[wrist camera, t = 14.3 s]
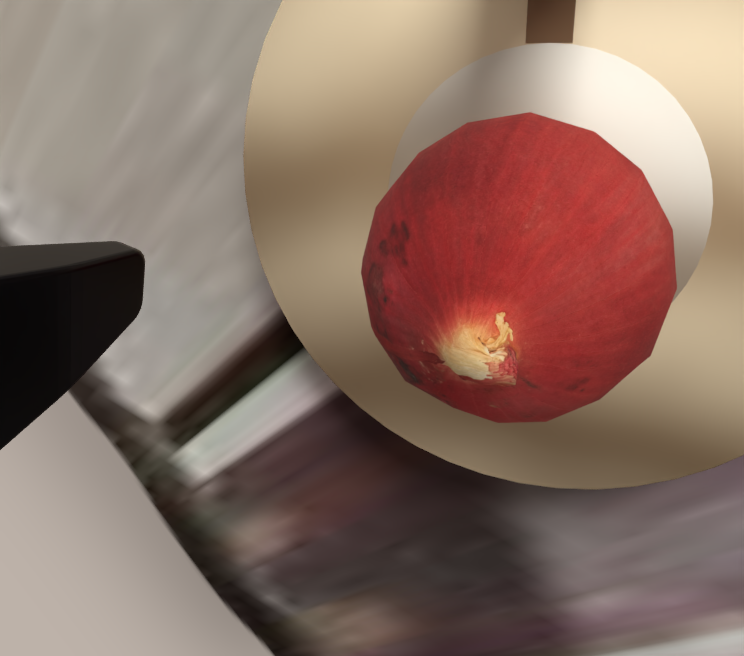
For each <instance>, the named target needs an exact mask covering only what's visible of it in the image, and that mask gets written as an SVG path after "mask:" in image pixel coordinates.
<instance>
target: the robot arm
mask: <svg viewBox="0 0 744 656" xmlns="http://www.w3.org/2000/svg"><path fill="white" fill-rule="evenodd" d="M144 272H145V259H144V255H143V254H142V252H141V251H139V250H138V249H135V248H133V247H130V246H128V245H126V244H123V243H121V242H117V241H107V242H86V243H65V244H44V245H23V246H2V247H0V450H1V449H2V448H3V447H4V446H5V445H7V444H8V443H9V442H10V441H11V440H12V439H13V438H15V437H16V436H17V435H18V434H19V433H20V432H21V431H23V429H25V428H26V427H27V426H28V425H29V424H30V423H32V422H33V421H34V420H35V419H36V418H37V417H39V416H40V415H41V414H42V413H43V412H44V411H45V410H47V409H48V408H49V407H50V406H51V405H52V404H53V403H55V402H56V401H57V400H58V399H59V398H60V397H61V396H62V395H63V394H65V393H66V392H67V391H68V390H69V389H70V388H71V387H72V386H73V385H74V384H75V383H76V382H77V381H78V380H79V379H80V378H81V377H82V376H83V375H84V374H85V373H86V371H87V370H88V369H89V368H90V367H91V366H92V365H93V364H94V363H95V362H96V361H97V360H98V358H99V357H100V356H101V355H102V354H103V353H104V352H105V351H106V350H107V349H108V348H109V347H110V345H111V344H112V343H113V342H114V341H115V340H116V339H117V338H118V337H119V336H120V335H121V333H122V332H123V331H124V330H125V329H126V328H127V327H128V326H129V325H130V324H131V323H132V322H133V320H134V319H135V318H136V317H137V315H138V313H139V311H140V309H141V306H142V301H143V287H144Z"/></svg>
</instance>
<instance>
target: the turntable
mask: <svg viewBox="0 0 744 656" xmlns="http://www.w3.org/2000/svg"><path fill="white" fill-rule="evenodd" d="M528 112H531V113H535V114H538V115H541V116H545V117H548V118H551V119H555V120H558V121H561V122H565V123H568V124H571V125H575V126H578V127H581V128H585V129H588V130H591V131H594V132H596V133H597V134H598V135H600V136H601V137H602V138H603V139H604V140H606V141H607V142H608V143H609V144H611V145H612V146H613V147H614V148H615V149H617V150H618V151H619V152H620V153H622V154H623V155H624V156H625V157H627V158H628V159H629V160H630V161H631V162H633V163H634V164H635V165H636V166H638V167H639V168H640V169H641V170H642V171H643V173H644V175H645V177H646V179H647V181H648V183H649V184H650V186H651V188H652V190H653V192H654V194H655V196H656V198H657V200H658V201H659V203H660V205H661V207H662V209H663V211H664V213H665V215H666V217H667V218H668V220H669V223H670V225H671V227H672V229H673V239H674V253H675V267H676V281H677V290H676V292H675V295H674V297H673V300H672V303H671V305H670V308H669V310H668V313H667V315H666V318H665V321H664V323H663V326H662V328H661V331H660V333H659V336H658V338H657V341H656V344H655V346H654V349H653V351H652V354H651V356H650V357H649V358H647V359H646V360H645V361H644V362H642V363H641V364H640V365H639V366H638V367H636V368H635V369H634V370H633V371H632V372H631V373H630V374H629V375H627V376H626V377H625V378H624V379H623V380H622V381H621V382H619V383H618V384H617V385H616V386H615V387H614V388H613V389H611V390H610V391H609V392H608V393H607V394H606V395H605V396H603V397H602V398H601V399H600V400H598V401H595V402H593V403H591V404H588V405H586V406H583V407H581V408H578V409H576V410H574V411H571V412H569V413H566V414H564V415H561V416H559V417H557V418H554V419H552V420H549V421H547V422H519V423H496V422H493V421H490V420H487V419H484V418H481V417H478V416H476V415H473V414H470V413H467V412H464V411H461V410H458V409H455V408H452V407H451V406H449V405H447V404H445V403H443V402H442V401H440V400H438V399H436V398H435V397H433V396H431V395H429V394H427V393H426V392H424V391H422V390H420V389H418V388H417V387H415V386H413V385H411V384H409V383H408V382H406V381H405V380H404V379H403V377H402V376H401V374H400V373H399V371H398V370H397V368H396V367H395V365H394V364H393V362H392V360H391V359H390V357H389V356H388V354H387V353H386V351H385V350H384V348H383V347H382V345H381V344H380V342H379V341H378V339H377V338H376V336H375V334H374V332H373V330H372V327H371V323H370V318H369V313H368V307H367V302H366V296H365V291H364V286H363V280H362V275H361V268H362V260H363V256H364V252H365V248H366V244H367V240H368V236H369V232H370V228H371V224H372V220H373V216H374V212H375V208H376V206H377V205H378V203H379V202H380V201H381V199H382V198H383V197H384V195H385V194H386V193H387V192H388V190H389V189H390V188H391V187H392V185H393V184H394V183H395V182H396V180H397V179H398V178H399V177H400V175H401V174H402V173H403V172H404V170H405V169H406V168H407V167H408V165H409V164H410V163H411V162H412V161H413V159H414V158H415V157H416V156H417V154H418V153H419V152H421V151H422V150H424V149H426V148H427V147H429V146H430V145H432V144H434V143H435V142H437V141H438V140H440V139H442V138H443V137H445V136H446V135H448V134H450V133H451V132H453V131H454V130H456V129H458V128H459V127H461V126H462V125H464V124H466V123H467V122H474V121H480V120H486V119H492V118H498V117H504V116H510V115H516V114H522V113H528ZM243 157H244V175H245V193H246V200H247V206H248V211H249V217H250V223H251V229H252V233H253V237H254V240H255V244H256V247H257V250H258V254H259V257H260V261H261V264H262V267H263V269H264V272H265V274H266V277H267V279H268V282H269V284H270V286H271V289H272V291H273V294H274V296H275V298H276V300H277V302H278V304H279V306H280V308H281V309H282V311H283V313H284V315H285V317H286V319H287V320H288V322H289V324H290V326H291V328H292V329H293V331H294V332H295V334H296V335H297V337H298V338H299V339H300V341H301V342H302V344H303V345H304V347H305V348H306V350H307V351H308V352H309V354H310V355H311V357H312V358H313V359H314V360H315V362H316V363H317V364H318V365H319V366H320V367H321V368H322V370H323V371H324V372H325V373H326V374H327V375H328V377H329V378H330V379H331V380H332V381H333V382H334V384H336V385H337V386H338V387H339V388H340V389H341V390H342V391H343V392H344V393H345V394H346V395H347V396H348V397H349V398H350V399H351V400H353V401H354V402H355V403H356V404H357V405H358V406H359V407H360V408H361V409H363V410H364V411H365V412H367V413H368V414H369V415H371V416H372V417H373V418H374V419H376V420H377V421H378V422H380V423H381V424H382V425H384V426H385V427H386V428H388V429H389V430H391V431H393V432H394V433H396V434H397V435H399V436H401V437H402V438H404V439H406V440H407V441H409V442H411V443H412V444H414V445H415V446H417V447H419V448H421V449H423V450H425V451H427V452H430V453H432V454H434V455H436V456H438V457H440V458H442V459H444V460H446V461H448V462H451V463H454V464H456V465H459V466H462V467H465V468H468V469H470V470H473V471H476V472H479V473H481V474H485V475H489V476H493V477H497V478H501V479H505V480H509V481H513V482H517V483H523V484H530V485H537V486H544V487H552V488H566V489H608V488H622V487H635V486H641V485H646V484H652V483H657V482H663V481H668V480H674V479H677V478H681V477H684V476H687V475H691V474H694V473H697V472H701V471H704V470H707V469H711V468H714V467H717V466H719V465H721V464H724V463H726V462H728V461H731V460H733V459H735V458H738V457H740V456H742V455H744V0H282V2H281V5H280V7H279V9H278V11H277V13H276V16H275V18H274V20H273V22H272V25H271V27H270V29H269V31H268V33H267V36H266V38H265V41H264V44H263V47H262V51H261V54H260V57H259V60H258V64H257V67H256V70H255V73H254V77H253V81H252V86H251V92H250V98H249V103H248V109H247V114H246V123H245V140H244V156H243Z"/></svg>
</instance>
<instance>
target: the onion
mask: <svg viewBox="0 0 744 656" xmlns="http://www.w3.org/2000/svg"><path fill="white" fill-rule="evenodd" d="M361 275H362V280H363V286H364V291H365V296H366V302H367V307H368V313H369V318H370V323H371V327H372V330H373V332H374V334H375V336H376V338H377V339H378V341H379V342H380V344H381V345H382V347H383V348H384V350H385V351H386V353H387V354H388V356H389V357H390V359H391V360H392V362H393V364H394V365H395V367H396V368H397V370H398V371H399V373H400V374H401V376H402V377H403V379H404V380H405V381H406V382H408V383H409V384H411V385H413V386H415V387H417V388H418V389H420V390H422V391H424V392H426V393H427V394H429V395H431V396H433V397H435V398H436V399H438V400H440V401H442V402H443V403H445V404H447V405H449V406H451V407H452V408H455V409H458V410H461V411H464V412H467V413H470V414H473V415H476V416H478V417H481V418H484V419H487V420H490V421H493V422H496V423H519V422H547V421H549V420H552V419H554V418H557V417H559V416H561V415H564V414H566V413H569V412H571V411H574V410H576V409H578V408H581V407H583V406H586V405H588V404H591V403H593V402H595V401H598V400H600V399H601V398H602V397H603V396H605V395H606V394H607V393H608V392H609V391H610V390H611V389H613V388H614V387H615V386H616V385H617V384H618V383H619V382H621V381H622V380H623V379H624V378H625V377H626V376H627V375H629V374H630V373H631V372H632V371H633V370H634V369H635V368H636V367H638V366H639V365H640V364H641V363H642V362H644V361H645V360H646V359H647V358H649V357H650V356H651V354H652V351H653V349H654V346H655V344H656V341H657V338H658V336H659V333H660V331H661V328H662V326H663V323H664V321H665V318H666V315H667V313H668V310H669V308H670V305H671V303H672V300H673V297H674V295H675V292H676V290H677V281H676V267H675V253H674V239H673V229H672V227H671V225H670V223H669V220H668V218H667V217H666V215H665V213H664V211H663V209H662V207H661V205H660V203H659V201H658V200H657V198H656V196H655V194H654V192H653V190H652V188H651V186H650V184H649V183H648V181H647V179H646V177H645V175H644V173H643V171H642V170H641V169H640V168H639V167H638V166H636V165H635V164H634V163H633V162H631V161H630V160H629V159H628V158H627V157H625V156H624V155H623V154H622V153H620V152H619V151H618V150H617V149H615V148H614V147H613V146H612V145H611V144H609V143H608V142H607V141H606V140H604V139H603V138H602V137H601V136H600V135H598V134H597V133H596V132H594V131H591V130H588V129H585V128H581V127H578V126H575V125H571V124H568V123H565V122H561V121H558V120H555V119H551V118H548V117H545V116H541V115H538V114H535V113H531V112H528V113H522V114H516V115H510V116H504V117H498V118H492V119H486V120H480V121H474V122H467V123H466V124H464V125H462V126H461V127H459V128H458V129H456V130H454V131H453V132H451V133H450V134H448V135H446V136H445V137H443V138H442V139H440V140H438V141H437V142H435V143H434V144H432V145H430V146H429V147H427V148H426V149H424V150H422V151H421V152H419V153H418V154H417V156H416V157H415V158H414V159H413V161H412V162H411V163H410V164H409V165H408V167H407V168H406V169H405V170H404V172H403V173H402V174H401V175H400V177H399V178H398V179H397V180H396V182H395V183H394V184H393V185H392V187H391V188H390V189H389V190H388V192H387V193H386V194H385V195H384V197H383V198H382V199H381V201H380V202H379V203H378V205H377V206H376V208H375V212H374V216H373V220H372V224H371V228H370V232H369V236H368V240H367V244H366V248H365V252H364V256H363V260H362V268H361Z"/></svg>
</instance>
